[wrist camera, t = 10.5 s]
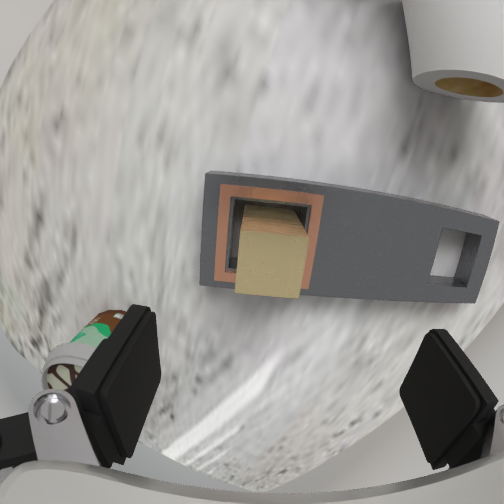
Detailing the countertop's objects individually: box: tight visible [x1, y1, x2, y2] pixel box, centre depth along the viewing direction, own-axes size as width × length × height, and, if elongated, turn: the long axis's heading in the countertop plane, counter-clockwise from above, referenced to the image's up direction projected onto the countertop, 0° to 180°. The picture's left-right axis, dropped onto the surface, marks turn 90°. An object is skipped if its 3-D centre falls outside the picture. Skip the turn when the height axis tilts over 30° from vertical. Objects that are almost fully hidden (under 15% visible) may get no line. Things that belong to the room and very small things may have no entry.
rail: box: [200, 171, 499, 303], centre depth 24 cm, size 28×9×3 cm, turn 84°
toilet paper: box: [402, 0, 504, 102], centre depth 15 cm, size 10×10×10 cm
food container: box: [42, 310, 126, 392], centre depth 25 cm, size 12×6×10 cm, turn 145°
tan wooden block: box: [235, 205, 309, 299], centre depth 22 cm, size 4×4×8 cm
